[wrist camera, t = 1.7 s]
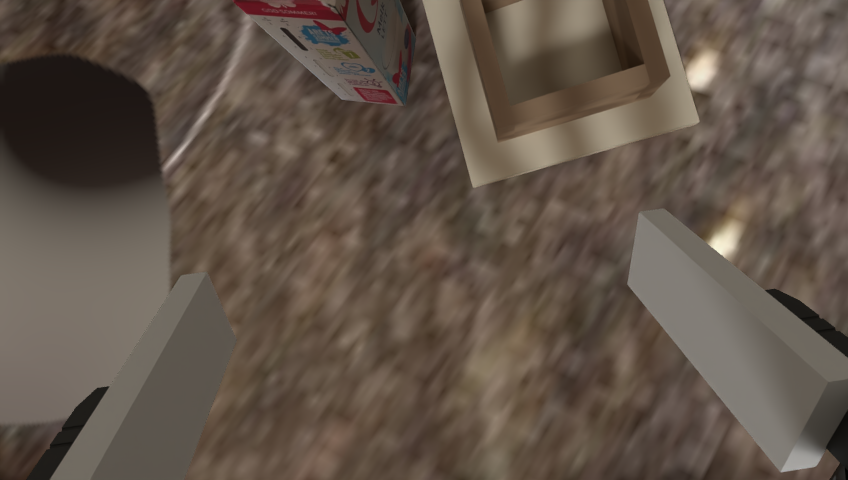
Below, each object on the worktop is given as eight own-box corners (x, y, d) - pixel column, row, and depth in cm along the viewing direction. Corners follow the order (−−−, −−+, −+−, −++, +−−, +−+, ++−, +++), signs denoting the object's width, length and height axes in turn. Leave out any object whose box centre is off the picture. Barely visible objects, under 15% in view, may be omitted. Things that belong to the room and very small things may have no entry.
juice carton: (415, 38, 44) (329, -165, 22) (405, 106, 44) (309, -30, 22) (351, 33, 45) (210, -164, 23) (341, 99, 45) (191, -36, 23)
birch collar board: (631, -87, 40) (653, -144, 34) (694, 124, 39) (728, 103, 33) (420, -9, 44) (407, -49, 38) (473, 188, 43) (468, 178, 37)
